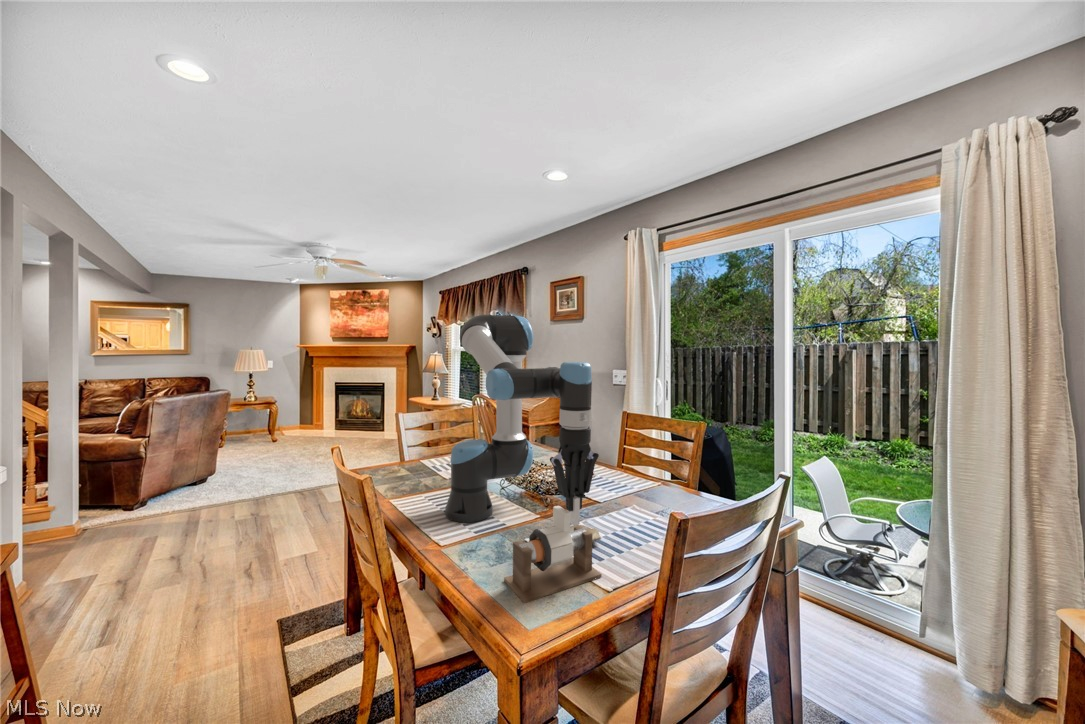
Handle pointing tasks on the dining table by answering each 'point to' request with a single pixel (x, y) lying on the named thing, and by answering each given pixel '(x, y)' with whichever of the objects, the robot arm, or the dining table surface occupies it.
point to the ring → (546, 547)
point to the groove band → (538, 550)
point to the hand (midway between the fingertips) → (573, 522)
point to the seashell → (595, 532)
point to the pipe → (576, 538)
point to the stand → (550, 572)
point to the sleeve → (559, 537)
